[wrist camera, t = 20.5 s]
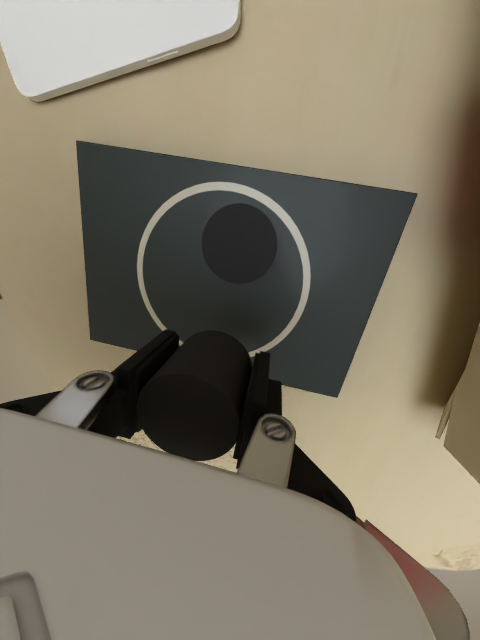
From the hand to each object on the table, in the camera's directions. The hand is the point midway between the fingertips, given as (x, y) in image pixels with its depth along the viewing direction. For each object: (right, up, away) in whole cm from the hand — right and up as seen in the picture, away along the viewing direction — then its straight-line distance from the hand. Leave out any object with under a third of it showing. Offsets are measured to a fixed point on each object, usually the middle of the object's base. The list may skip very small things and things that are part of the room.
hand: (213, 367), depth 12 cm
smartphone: (-6, +21, +2) cm, 22 cm away
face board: (0, +6, +6) cm, 8 cm away
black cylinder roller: (0, 0, 0) cm, 0 cm away
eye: (+2, +8, +4) cm, 9 cm away
